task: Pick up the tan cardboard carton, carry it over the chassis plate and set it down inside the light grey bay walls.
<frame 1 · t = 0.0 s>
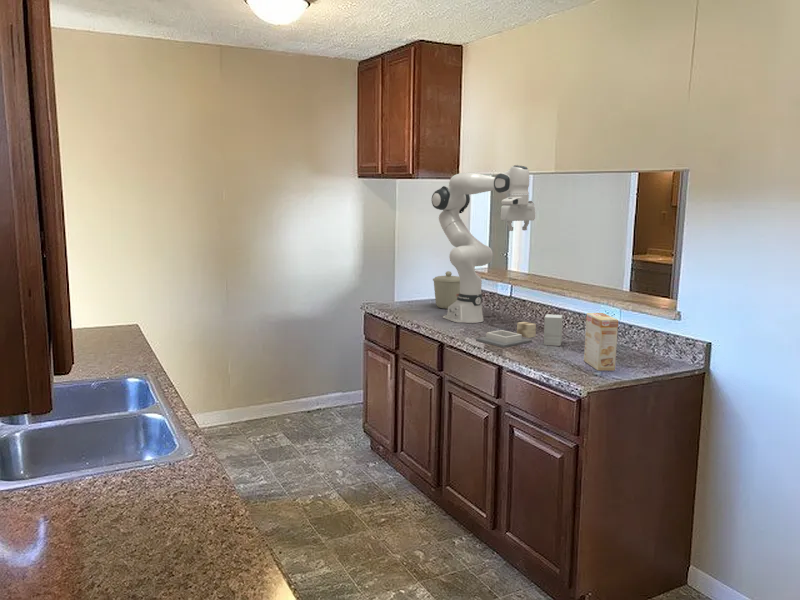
hand: (517, 230, 310), 48 cm above the counter, fingers open, 8 cm apart
coffeecake box: (599, 366, 254), on the counter
canister: (447, 308, 380), on the counter
tan cardboard carton: (526, 336, 306), on the counter
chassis: (503, 341, 294), on the counter
supplement box: (552, 344, 290), on the counter
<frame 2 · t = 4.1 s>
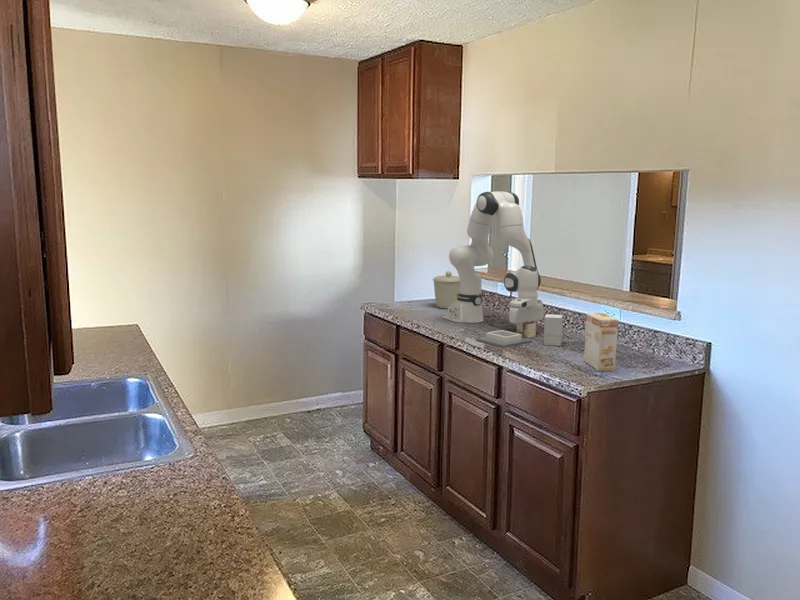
hand: (526, 330, 306), 2 cm above the counter, fingers closed on tan cardboard carton, 5 cm apart
tan cardboard carton: (526, 335, 306), on the counter, touching gripper
everything else where it was.
when the fingers open (5 cm above the counter, at t = 11.1 s): tan cardboard carton drops 1 cm, resting on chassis.
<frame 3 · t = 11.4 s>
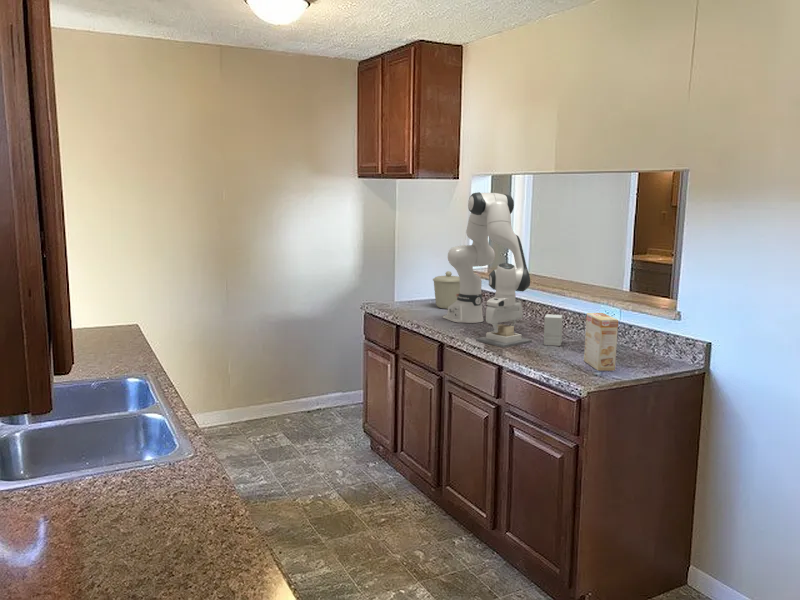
hand: (504, 331, 294), 5 cm above the counter, fingers open, 8 cm apart
tan cardboard carton: (503, 339, 294), point 1 cm above the counter, touching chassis
everything else where it was.
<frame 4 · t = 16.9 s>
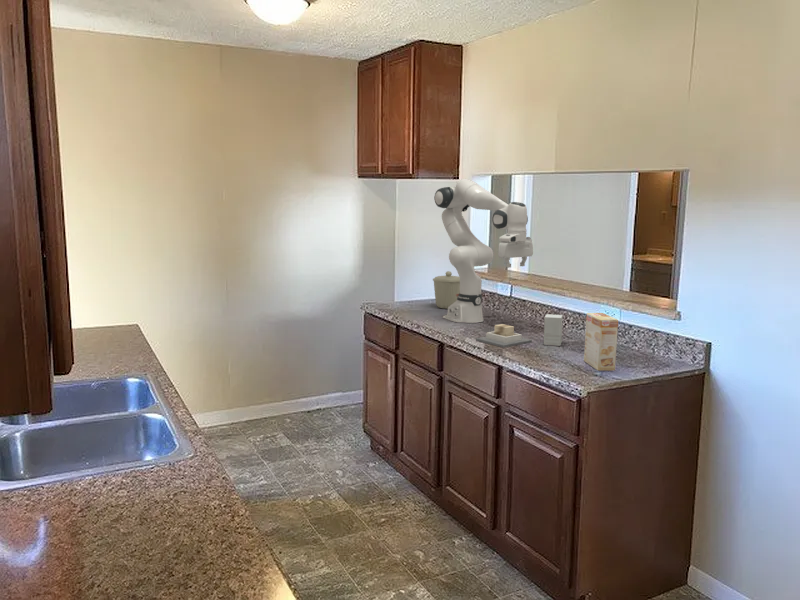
hand: (515, 266, 310), 31 cm above the counter, fingers open, 8 cm apart
nothing on the counter moved.
at the end: tan cardboard carton 0.0 cm off-centre on the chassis, point 1.0 cm above the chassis's base; tan cardboard carton tilted 0°; the gripper is holding nothing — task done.
